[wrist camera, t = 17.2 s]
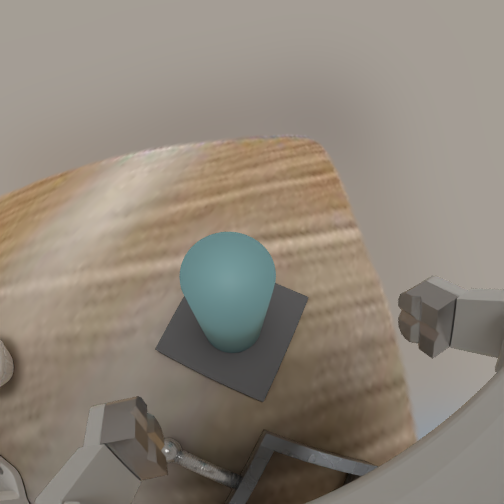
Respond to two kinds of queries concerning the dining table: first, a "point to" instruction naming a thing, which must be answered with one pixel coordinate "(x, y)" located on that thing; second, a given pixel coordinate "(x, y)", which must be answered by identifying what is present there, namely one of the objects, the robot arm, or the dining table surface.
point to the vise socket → (263, 463)
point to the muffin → (5, 365)
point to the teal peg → (228, 288)
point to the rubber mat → (242, 363)
